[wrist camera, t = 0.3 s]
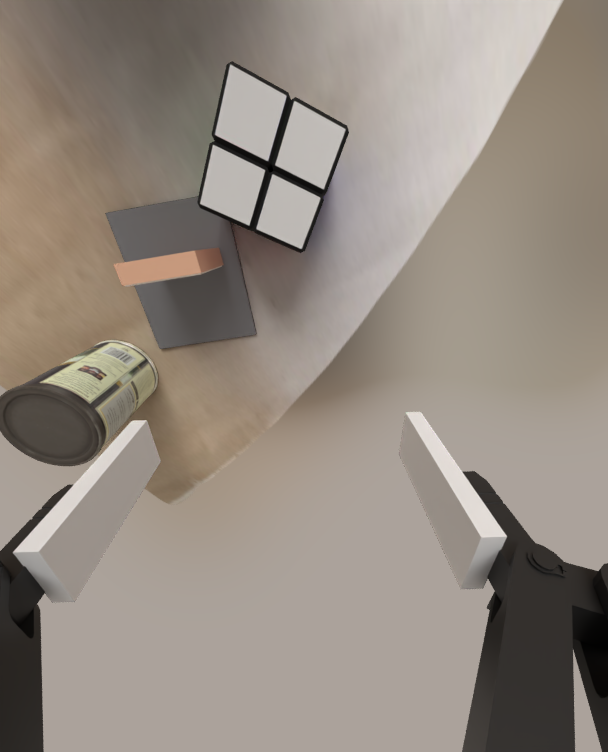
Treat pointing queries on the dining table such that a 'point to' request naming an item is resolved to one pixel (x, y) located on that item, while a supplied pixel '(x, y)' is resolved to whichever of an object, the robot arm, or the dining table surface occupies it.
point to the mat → (188, 294)
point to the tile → (168, 267)
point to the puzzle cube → (269, 159)
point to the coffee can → (78, 403)
